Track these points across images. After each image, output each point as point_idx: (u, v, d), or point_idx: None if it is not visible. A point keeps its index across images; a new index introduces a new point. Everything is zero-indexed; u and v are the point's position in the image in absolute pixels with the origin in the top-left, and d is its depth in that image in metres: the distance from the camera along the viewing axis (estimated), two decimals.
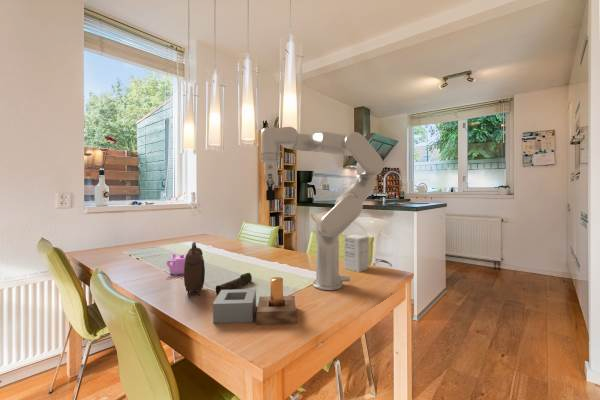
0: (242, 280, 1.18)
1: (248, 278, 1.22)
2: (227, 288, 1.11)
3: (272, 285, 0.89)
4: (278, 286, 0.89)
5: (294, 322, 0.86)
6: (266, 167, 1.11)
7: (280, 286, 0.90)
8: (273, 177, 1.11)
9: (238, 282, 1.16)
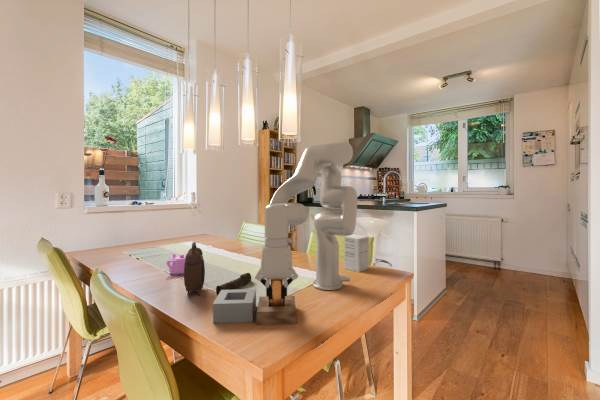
0: (242, 280, 1.18)
1: (248, 278, 1.22)
2: (227, 288, 1.11)
3: (272, 285, 0.89)
4: (278, 286, 0.89)
5: (294, 322, 0.86)
6: (290, 255, 0.89)
7: (280, 286, 0.90)
8: None
9: (238, 282, 1.16)
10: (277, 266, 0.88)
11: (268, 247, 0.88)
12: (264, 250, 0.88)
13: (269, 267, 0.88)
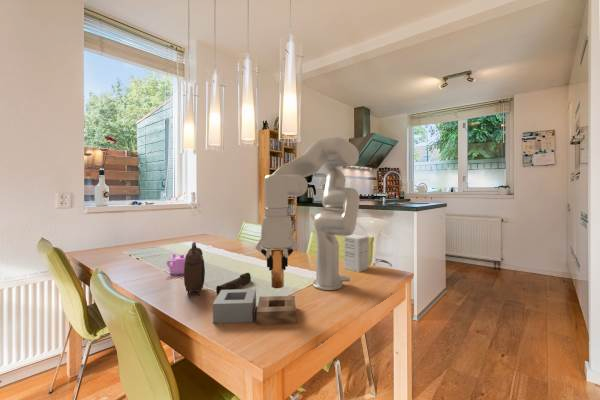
0: (242, 280, 1.18)
1: (247, 278, 1.22)
2: (228, 288, 1.11)
3: (273, 255, 0.89)
4: (278, 256, 0.89)
5: (294, 322, 0.86)
6: (291, 225, 0.89)
7: (281, 256, 0.89)
8: None
9: (238, 282, 1.16)
10: (277, 236, 0.88)
11: (268, 217, 0.87)
12: (264, 220, 0.88)
13: (269, 237, 0.88)
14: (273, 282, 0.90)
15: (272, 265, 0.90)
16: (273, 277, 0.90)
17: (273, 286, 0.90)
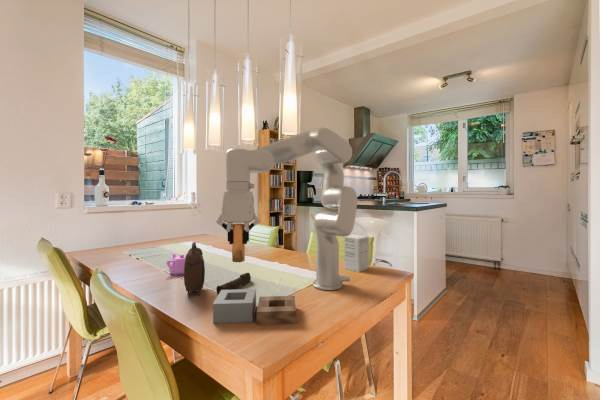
0: (242, 280, 1.18)
1: (247, 278, 1.22)
2: (228, 288, 1.11)
3: (233, 229, 0.90)
4: (239, 230, 0.89)
5: (294, 322, 0.86)
6: (252, 200, 0.90)
7: (241, 230, 0.90)
8: None
9: (238, 282, 1.16)
10: (238, 209, 0.89)
11: (228, 190, 0.88)
12: (225, 193, 0.89)
13: (230, 210, 0.89)
14: (233, 256, 0.90)
15: (233, 239, 0.90)
16: (233, 251, 0.90)
17: (234, 260, 0.90)
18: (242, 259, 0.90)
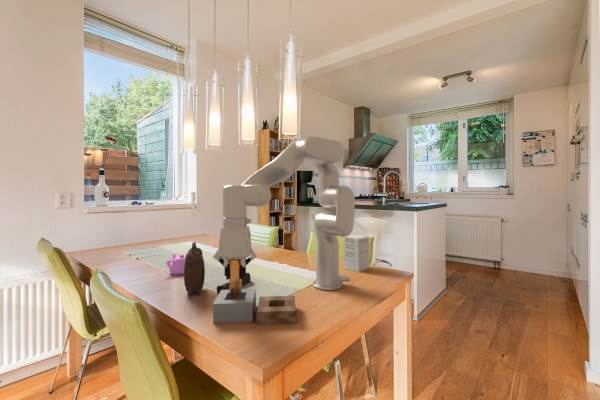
0: (242, 280, 1.19)
1: (247, 278, 1.22)
2: (228, 288, 1.11)
3: (230, 265, 0.90)
4: (236, 266, 0.90)
5: (294, 322, 0.86)
6: (248, 235, 0.90)
7: (238, 266, 0.90)
8: None
9: None
10: (234, 245, 0.89)
11: (225, 226, 0.88)
12: (222, 230, 0.89)
13: (226, 246, 0.89)
14: (230, 291, 0.91)
15: (229, 274, 0.91)
16: (230, 286, 0.90)
17: (230, 296, 0.90)
18: (239, 294, 0.91)
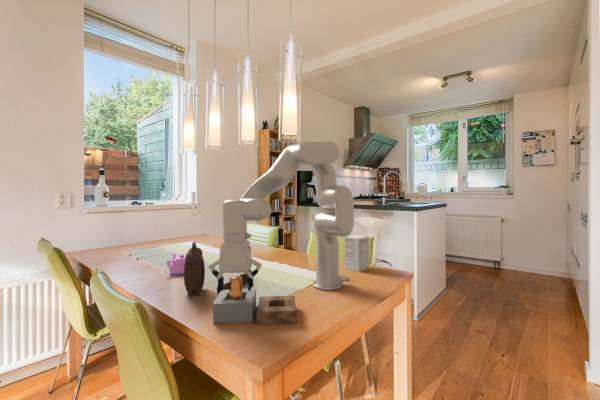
0: (242, 280, 1.19)
1: (247, 278, 1.22)
2: (228, 288, 1.11)
3: (231, 284, 0.91)
4: (236, 285, 0.90)
5: (294, 322, 0.86)
6: (248, 250, 0.91)
7: (239, 285, 0.91)
8: None
9: None
10: (235, 260, 0.89)
11: (225, 241, 0.89)
12: (222, 245, 0.89)
13: (227, 261, 0.89)
14: None
15: (230, 293, 0.91)
16: None
17: None
18: None
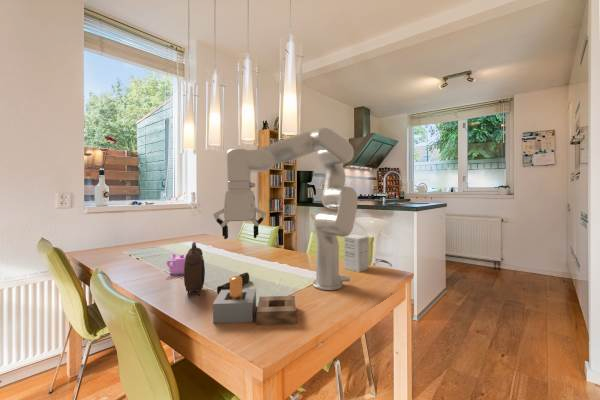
0: None
1: (246, 278, 1.22)
2: (228, 288, 1.11)
3: (231, 284, 0.91)
4: (236, 285, 0.90)
5: (294, 322, 0.86)
6: (253, 198, 0.92)
7: (239, 285, 0.91)
8: None
9: None
10: (239, 208, 0.91)
11: (230, 189, 0.90)
12: (226, 193, 0.91)
13: (232, 209, 0.91)
14: None
15: (230, 293, 0.91)
16: None
17: None
18: None
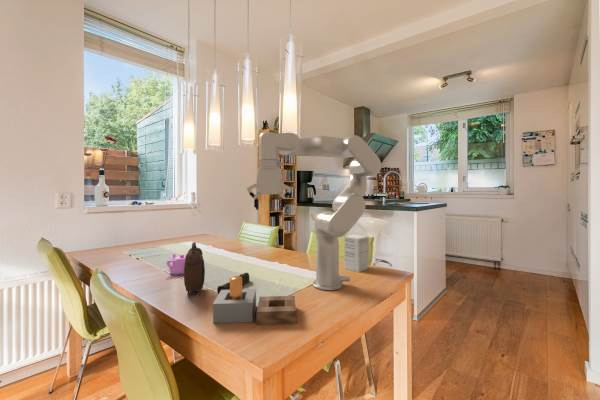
0: (242, 280, 1.19)
1: (247, 278, 1.22)
2: (229, 288, 1.11)
3: (231, 284, 0.91)
4: (236, 285, 0.90)
5: (294, 322, 0.86)
6: (281, 175, 1.07)
7: (239, 285, 0.91)
8: None
9: None
10: (270, 183, 1.06)
11: (262, 167, 1.05)
12: (259, 170, 1.06)
13: (263, 184, 1.06)
14: None
15: (230, 293, 0.91)
16: None
17: None
18: None
